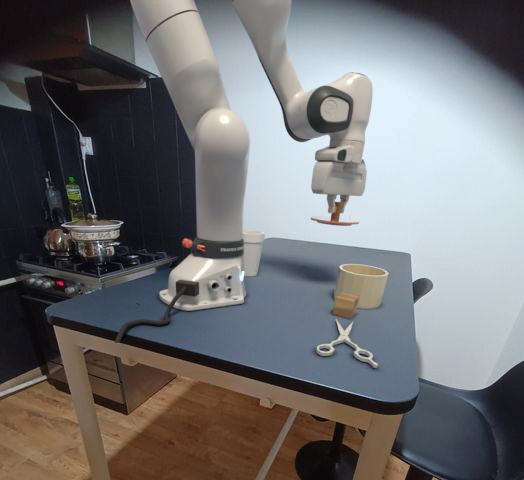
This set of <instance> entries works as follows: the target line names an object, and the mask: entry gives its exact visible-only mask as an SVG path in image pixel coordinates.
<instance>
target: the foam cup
mask: <svg viewBox="0 0 524 480" xmlns="http://www.w3.org/2000/svg"><path fill="white" fill-rule="evenodd" d="M265 235H266V233H265V232H264V231H261V230H255V229H243V233H242V239H243V240H244V254H243V256H242V270H243V271H244V277H254V276H255V277H256V276H257V275H258V273H259V266H260V262H261V256H262V252H263V247H264V242H265V237H266V236H265Z"/></svg>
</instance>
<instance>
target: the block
mask: <svg viewBox="0 0 524 480" xmlns="http://www.w3.org/2000/svg"><path fill="white" fill-rule="evenodd" d="M358 300H359V297H358V296H354V295H350V294H345V293H341V294H339V295H338V296H336V298H335V299H334V304H333V308H332V309H333V310H332V315H335V316H338V317H341V318H344V319H349V320H350V319H351V318H352V317H354V316H355V315H356V314H357V309H358V308H357V305H358Z"/></svg>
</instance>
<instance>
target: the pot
mask: <svg viewBox="0 0 524 480" xmlns="http://www.w3.org/2000/svg"><path fill="white" fill-rule="evenodd" d="M389 275H390V273H389V272H388V271H387V270H386V269H383V268H381V267H378V266H377V267H376V266H373V265H367V264H359V263H344V264H341V265H339V266H338V270H337V275H336V280H335V281H336V282H335V285H334V291H333V299H334V300H335V298H336V296H338V295H339V294H341V293H345V294H350V295H354V296H358V297H359V300H358V305H357V309H363V310H364V309H365V310H371V309H378V308H379V307H381V305H382V301H383V297H384V293H385V290H386V286H387V282H388V279H389Z"/></svg>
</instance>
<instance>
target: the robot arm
mask: <svg viewBox="0 0 524 480" xmlns="http://www.w3.org/2000/svg"><path fill="white" fill-rule="evenodd" d="M292 1H293V0H229V2H230V3H231V6H232V8H233V10H234V11H235V13H236V15H237V17H238V18H239V20H240V22H241V24H242V26H243V28H244V29H245V31H246V33H247V35H248V38H249V39H250V42H251V44H252V47H253V49H254V51H255V52H256V55H257V57H258V60H259V62H260V65H261V67H262V69H263V72H264V74H265V75H266V77H267V79H268V81H269V84H270V86H271V88H272V90H273V93H274V94H275V96H276V99H277V101H278V103H279V106H280V109H281V113H282V118H283V124H284V127H285V130H286V132H287V134H288V136H289V137H290V138H291V139H292V140H294V141H295V142H298V143H306V142H309V141H311V140H313V139H318V138H321V137H325V136H329V144H328V146H325V147H323V148H320V149H318V150H316V151H315V152H314V160H315V161H316V162H315V164H314V166H313V169H312V175H311V183H310V185H311V186H310V189H311V192H312V194H315V195H326V202H327V206H328V208H327V213H328V214H331V213H336V209H337V207H336V206H335V201H336V200H337V198H338V197H337V196H339V200H340V201H339V202H342V205H341V211H340V214H344V212H345V209H346V206H347V204H348V202H349V200H350V196H353V197H363V194H364V193H365V191H366V183H367V168H366V167H367V165H366V163H365V159H363V154H364V150H365V143H366V131H367V127H368V125H369V122H370V117H371V111H372V104H373V94H374V93H373V91H374V90H373V83H372V80H371V79H370V77H368V76H367V75H365V74H363V73H360V72H353V71H352V72H346V73H344V74H343V75H342V76H341V77H340V78H338V79H335V80H334V81H332V82H330V83H328V84H324V85H319V86H317V87H314V88H313V89H311V90H309V91H306V90H305V89H304V88H303V86H302V85H301V82H300V80H299V78H298V75H297V72H296V70H295V68H294V65H293V63H292V60H291V58H290V55H289V52H288V47H287V31H288V25H289V20H290V18H291V11H292V4H293V3H292ZM129 2H130V5H131V8H132V11H133V13H134V16H135V20H136V22H137V24H138V26H139V30H140V32H141V34H142V36H143V38H144V41H145V43H146V46H147V47H148V50H149V52H150V54H151V56H152V58H153V62H154V63H155V65H156V68H157V69H158V72H159V75H160V76H161V78H162V81H163V83H164V85H165V87H166V90H167V92H168V95H169V96H170V98H171V101H172V104H173V106H174V108H175V110H176V113H177V116H178V117H179V119H180V123H181V124H182V126H183V128H184V131H185V133H186V135H187V138H188V141H189V143H190V144H191V145H190V146H191V147H192V150H193V152H194V167H195V168H194V169H195V213H196V217H195V218H196V236H195V238H194V240H193V241H192V239H189V238H184V239H183V240H182V241H181V243H182V246H183V247H184V248H187V249H190V253H189V255H187V256H186V257H185V258H184V259H183V260H182V261H181V262H180V263H178V265H176V267H174V268H173V269H172V270H171V271H170V273H169V276H168V283H167V289H163V290H160V291H159V294H158V297H159V299H160V300H161V301H162V302H163V303H164V304H166V305H168V306H167V308H166V310H165V313H164V315H163V320H153V319H147V318H140V319H134V320H130V321H127V322H125V323H124V324H123V325H121V327H120V329H119V331H118V333H117V335H116V337H115V340H114V343H115V344H119V343H120V342H122V339H123V338H124V335H125V332H126V331H127V329H128V328H130V327H134V326H137V325H150V326H165V325H168V324H169V323H170V322H171V319H170V317H169V316H170V314H171V312H172V310H173V308H174V309H178V310H181V311H187V312H190V311H198V310H205V309H213V308H220V307H227V306H234V305H242V304H245V298H246V296H247V291H246V286H245V281H244V277H245V276H244V271H243V270H242V256H243V254H244V240H243V239H242V233H243V230H244V206H245V205H244V204H245V195H246V189H247V181H248V171H249V160H250V148H251V137H250V134H249V133H250V132H249V129H248V126H247V124H246V123H245V120H243V118H242V117H241V116H240V115H239V114H238V113H237V112H235V111H233V110H231V105H230V102H229V100H228V96H227V93H226V89H225V86H224V82H223V78H222V73H221V69H220V66H219V64H218V61H217V57H216V54H215V52H214V50H213V47H212V44H211V42H210V39H209V36H208V34H207V30H206V28H205V25H204V23H203V20H202V18H201V15H200V12H199V10H198V7H197V4H196V2H195V0H129Z"/></svg>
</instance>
